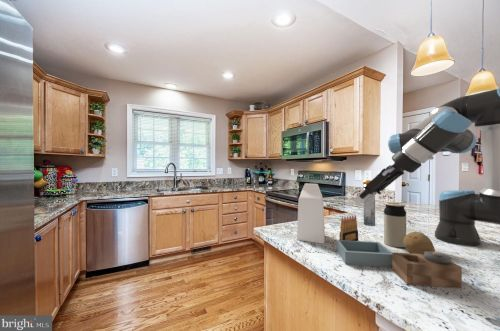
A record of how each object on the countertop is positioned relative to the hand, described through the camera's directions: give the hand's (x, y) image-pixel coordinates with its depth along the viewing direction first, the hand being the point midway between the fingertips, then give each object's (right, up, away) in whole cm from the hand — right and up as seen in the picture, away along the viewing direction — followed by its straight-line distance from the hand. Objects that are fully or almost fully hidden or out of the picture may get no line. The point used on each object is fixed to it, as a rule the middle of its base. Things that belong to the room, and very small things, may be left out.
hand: (358, 202), depth 78 cm
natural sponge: (+22, -21, -1) cm, 30 cm away
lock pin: (+2, -8, -3) cm, 9 cm away
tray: (+1, -21, 0) cm, 21 cm away
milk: (-11, -21, +22) cm, 33 cm away
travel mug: (+23, -21, +13) cm, 34 cm away
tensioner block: (+12, -21, -15) cm, 28 cm away
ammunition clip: (+4, -21, +16) cm, 27 cm away
